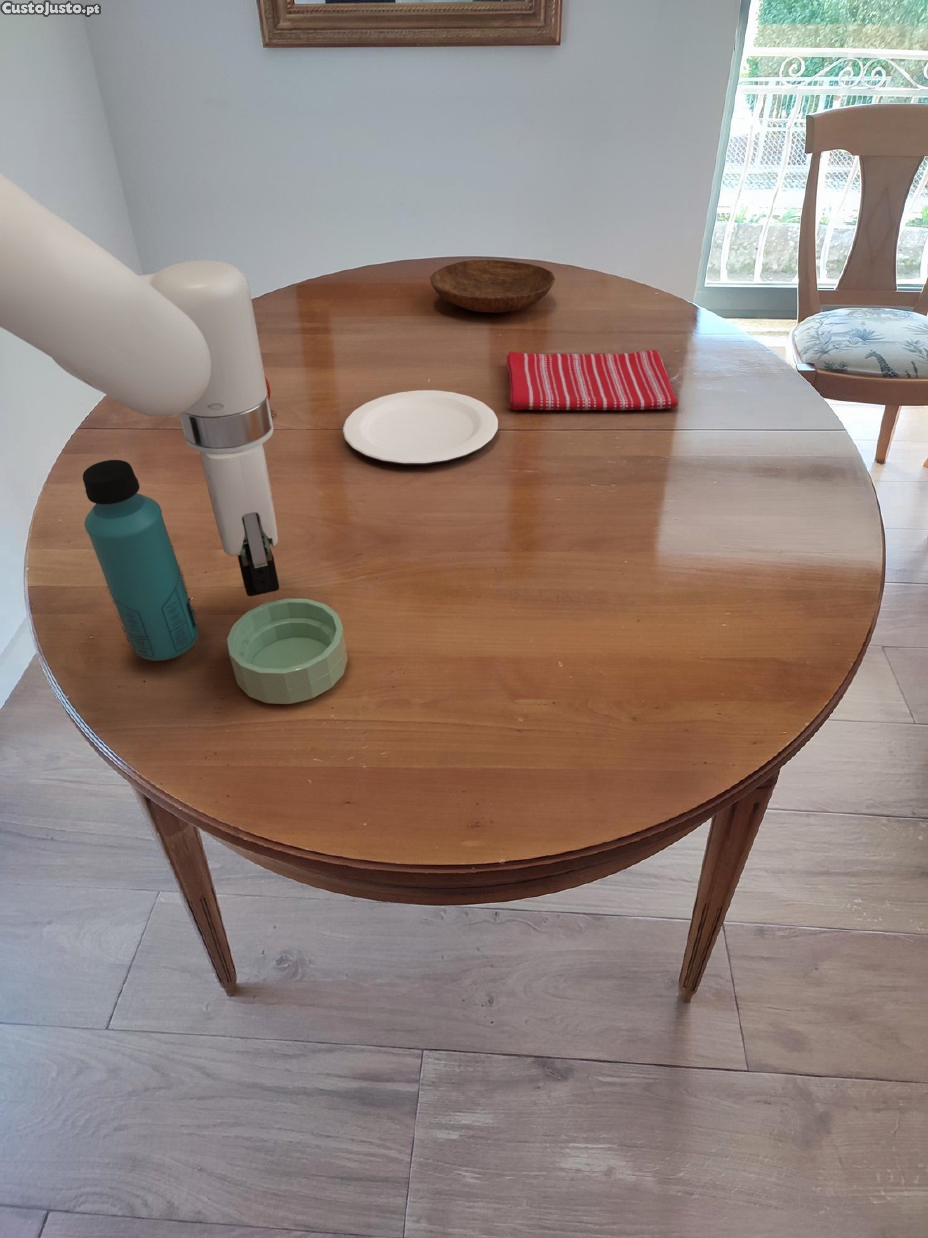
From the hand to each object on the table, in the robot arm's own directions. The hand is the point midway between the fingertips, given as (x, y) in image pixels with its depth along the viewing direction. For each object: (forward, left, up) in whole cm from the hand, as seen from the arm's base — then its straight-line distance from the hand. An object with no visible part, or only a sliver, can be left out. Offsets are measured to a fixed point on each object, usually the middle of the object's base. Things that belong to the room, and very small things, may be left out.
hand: (262, 588), depth 83 cm
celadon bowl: (+1, -10, -3) cm, 10 cm away
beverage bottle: (-10, -3, -3) cm, 11 cm away
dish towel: (+53, +34, -3) cm, 63 cm away
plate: (+26, +30, -3) cm, 40 cm away
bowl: (+53, +71, -3) cm, 89 cm away
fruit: (+6, +44, -3) cm, 44 cm away
